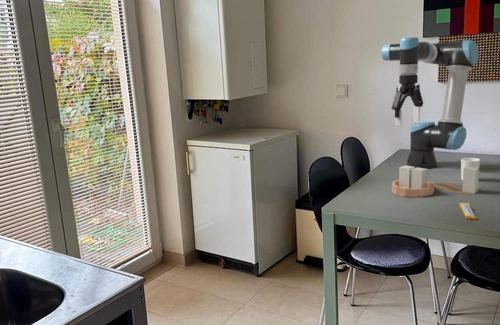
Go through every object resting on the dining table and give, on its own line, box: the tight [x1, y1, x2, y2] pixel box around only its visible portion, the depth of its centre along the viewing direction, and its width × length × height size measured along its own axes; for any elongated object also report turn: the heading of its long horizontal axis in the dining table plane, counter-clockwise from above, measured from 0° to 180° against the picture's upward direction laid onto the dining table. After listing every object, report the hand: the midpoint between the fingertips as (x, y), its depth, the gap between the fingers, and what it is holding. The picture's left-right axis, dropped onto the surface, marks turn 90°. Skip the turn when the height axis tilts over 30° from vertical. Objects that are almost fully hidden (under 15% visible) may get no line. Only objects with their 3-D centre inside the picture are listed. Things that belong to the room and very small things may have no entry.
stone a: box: [398, 164, 415, 189], centre depth 199 cm, size 4×5×10 cm
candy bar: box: [458, 202, 479, 221], centre depth 170 cm, size 17×4×2 cm, turn 164°
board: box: [434, 181, 483, 196], centre depth 198 cm, size 12×19×1 cm, turn 38°
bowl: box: [391, 179, 435, 199], centre depth 197 cm, size 17×17×4 cm
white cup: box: [460, 157, 481, 181], centre depth 210 cm, size 8×8×10 cm
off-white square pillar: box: [462, 167, 480, 194], centre depth 192 cm, size 4×5×10 cm
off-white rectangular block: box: [411, 167, 429, 189], centre depth 194 cm, size 4×5×10 cm
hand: (407, 123), depth 202 cm, fingers open, 13 cm apart
